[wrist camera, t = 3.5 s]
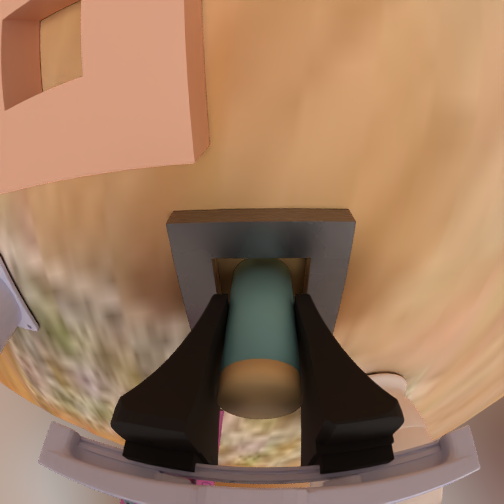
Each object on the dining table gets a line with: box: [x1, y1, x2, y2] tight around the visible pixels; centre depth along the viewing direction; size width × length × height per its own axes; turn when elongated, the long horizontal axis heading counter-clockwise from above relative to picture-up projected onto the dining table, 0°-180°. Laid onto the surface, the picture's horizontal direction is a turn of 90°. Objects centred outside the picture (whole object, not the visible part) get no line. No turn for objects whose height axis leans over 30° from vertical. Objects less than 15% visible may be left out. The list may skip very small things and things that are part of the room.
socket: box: [0, 0, 210, 194], centre depth 7 cm, size 12×12×3 cm
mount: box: [166, 209, 356, 335], centre depth 14 cm, size 8×8×1 cm
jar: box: [310, 373, 443, 504], centre depth 16 cm, size 11×10×15 cm
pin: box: [217, 258, 302, 419], centre depth 12 cm, size 3×3×7 cm
